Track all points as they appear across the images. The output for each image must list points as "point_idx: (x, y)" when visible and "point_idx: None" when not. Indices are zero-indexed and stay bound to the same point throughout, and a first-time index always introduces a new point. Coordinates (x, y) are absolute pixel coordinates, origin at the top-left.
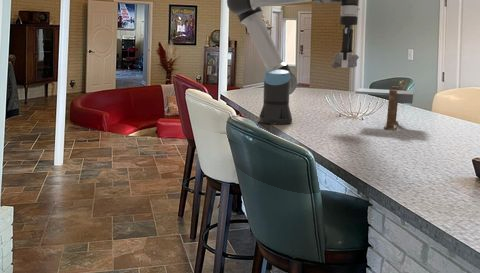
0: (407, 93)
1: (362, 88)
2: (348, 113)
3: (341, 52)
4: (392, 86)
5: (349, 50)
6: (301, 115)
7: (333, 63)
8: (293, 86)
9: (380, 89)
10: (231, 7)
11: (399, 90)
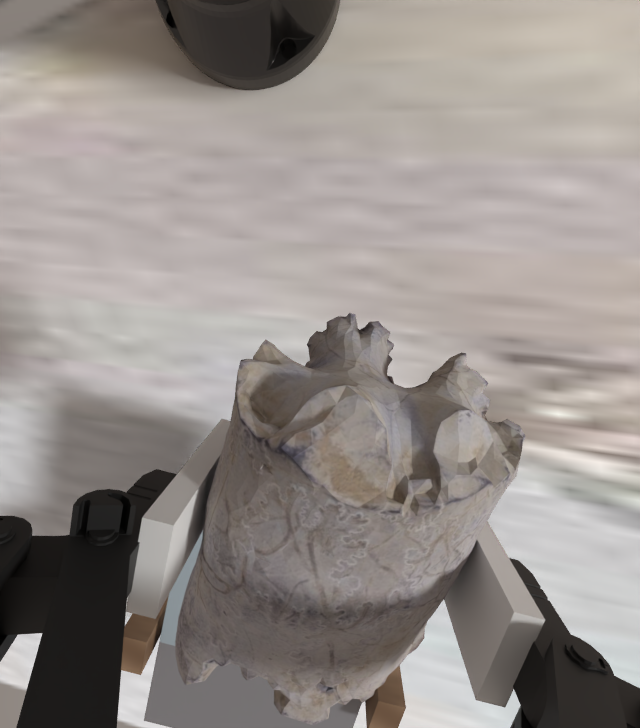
0: (183, 707)
1: None
2: (633, 414)
3: (105, 505)
4: (390, 705)
5: (538, 723)
6: (520, 144)
7: (338, 345)
8: None
9: None
10: None
11: (350, 710)
